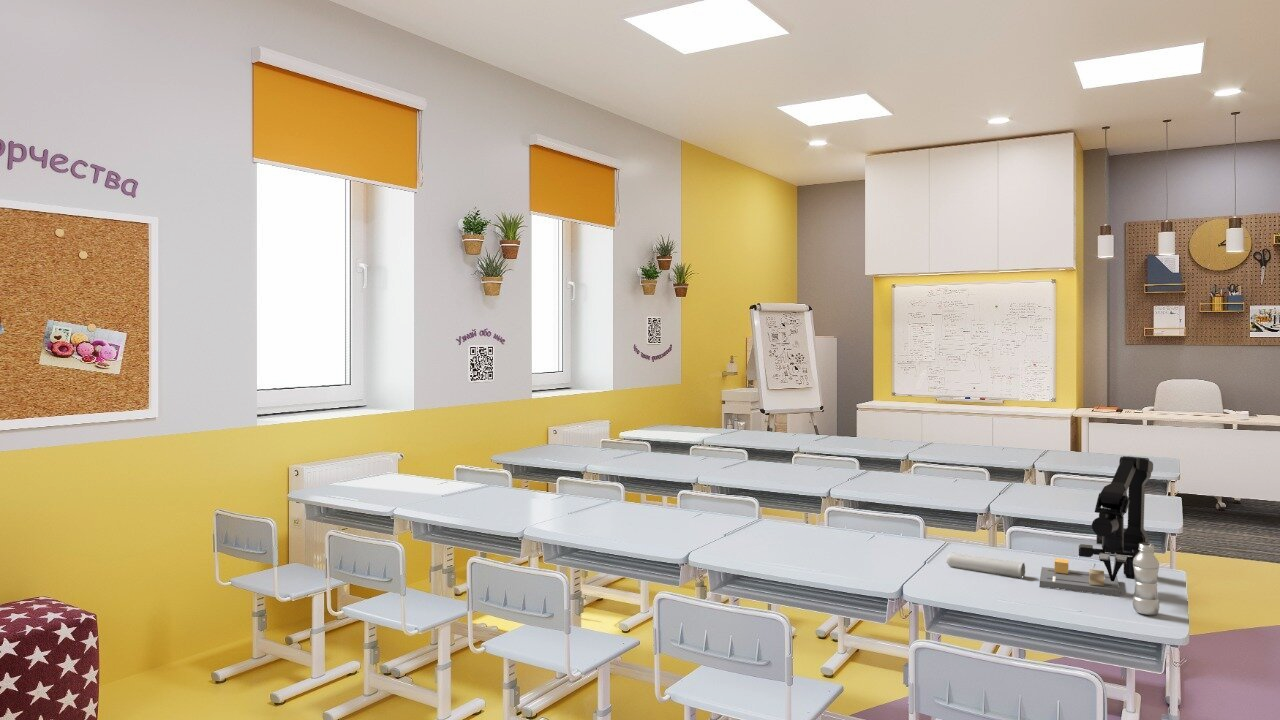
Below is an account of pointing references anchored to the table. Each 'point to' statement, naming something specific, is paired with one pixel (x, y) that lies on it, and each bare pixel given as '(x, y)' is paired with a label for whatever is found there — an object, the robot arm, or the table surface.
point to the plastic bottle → (1146, 580)
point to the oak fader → (1096, 577)
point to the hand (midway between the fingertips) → (1112, 580)
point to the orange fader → (1061, 565)
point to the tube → (986, 565)
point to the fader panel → (1077, 582)
